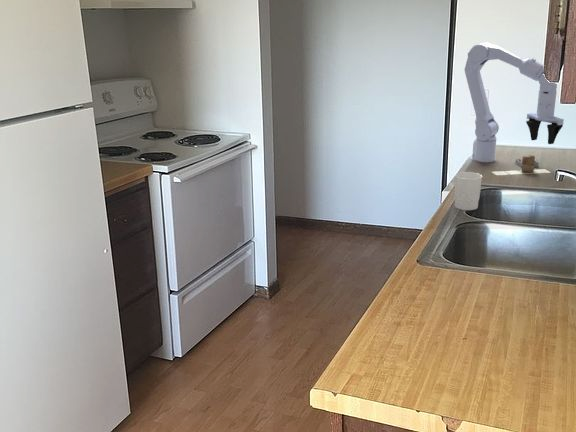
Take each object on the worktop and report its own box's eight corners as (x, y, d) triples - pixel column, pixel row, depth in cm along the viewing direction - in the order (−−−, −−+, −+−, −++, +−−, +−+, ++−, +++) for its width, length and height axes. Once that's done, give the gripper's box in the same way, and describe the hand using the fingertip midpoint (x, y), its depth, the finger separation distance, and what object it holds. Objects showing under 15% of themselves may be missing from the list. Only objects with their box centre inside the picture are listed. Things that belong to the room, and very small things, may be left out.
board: (487, 172, 223) (487, 169, 223) (541, 169, 224) (542, 167, 224) (498, 180, 213) (498, 177, 213) (554, 177, 214) (555, 174, 214)
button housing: (515, 165, 230) (515, 159, 229) (530, 165, 230) (531, 158, 230) (521, 170, 224) (522, 163, 224) (537, 169, 225) (538, 162, 224)
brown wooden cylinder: (519, 170, 220) (520, 155, 218) (530, 169, 221) (531, 154, 219) (524, 173, 216) (525, 158, 215) (535, 172, 217) (536, 157, 215)
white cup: (477, 202, 191) (479, 171, 188) (482, 211, 184) (484, 178, 181) (451, 202, 192) (452, 171, 189) (455, 211, 185) (457, 179, 181)
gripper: (522, 102, 222) (518, 139, 227) (554, 107, 210) (550, 147, 215) (536, 100, 225) (532, 137, 230) (569, 105, 213) (564, 144, 218)
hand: (542, 141), depth 222 cm, fingers open, 7 cm apart
